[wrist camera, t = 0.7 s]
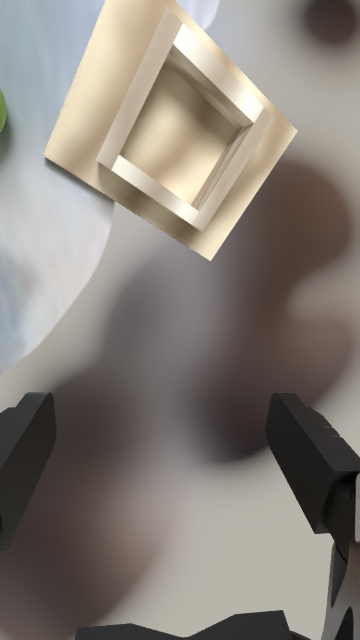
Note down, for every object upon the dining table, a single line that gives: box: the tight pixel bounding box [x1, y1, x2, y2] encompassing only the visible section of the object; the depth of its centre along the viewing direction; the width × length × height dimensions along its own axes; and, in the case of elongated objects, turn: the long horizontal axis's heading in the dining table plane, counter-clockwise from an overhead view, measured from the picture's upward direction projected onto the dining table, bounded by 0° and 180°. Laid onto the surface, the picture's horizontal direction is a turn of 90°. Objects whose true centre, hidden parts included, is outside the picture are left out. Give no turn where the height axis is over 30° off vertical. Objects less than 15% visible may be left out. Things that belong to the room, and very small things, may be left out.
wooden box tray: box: [43, 0, 297, 261], centre depth 26 cm, size 20×16×5 cm
